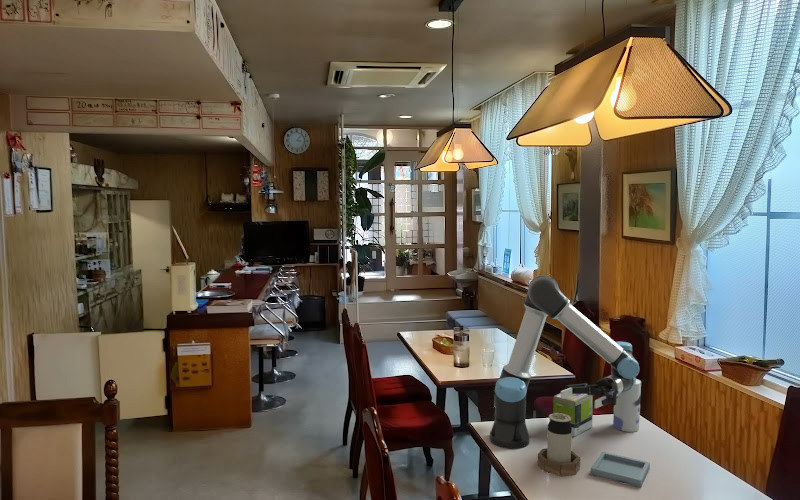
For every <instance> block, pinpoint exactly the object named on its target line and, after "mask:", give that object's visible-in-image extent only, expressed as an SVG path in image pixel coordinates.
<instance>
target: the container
mask: <svg viewBox="0 0 800 500" xmlns="http://www.w3.org/2000/svg"><path fill="white" fill-rule="evenodd" d="M641 387H642V381H641V380H640V379H637V378H636V384H635V386H634V387H633V388H631V389H630V390H628V391H625V392H623V393H620V394H619V395H618V398H617V400H616V405H613V419H612V421H613V423H612V426H613V427H614V428H615V429H617V430H619V431H623V432H630V433H632V432H633V433H634V432H637V431H639V430H640V414H641V413H640V412H641V389H642V388H641Z"/></svg>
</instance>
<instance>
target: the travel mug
mask: <svg viewBox="0 0 800 500" xmlns="http://www.w3.org/2000/svg"><path fill="white" fill-rule="evenodd" d="M548 418H549V422H548V424H547V441H546V443H547V444H546V445H547V446H546V448H547V460H550V461H554V462H558V463H568V462H571V451H572V436H571V433H572V427H571V425H570V420H571V417H570V416H569V415H566V414H562V413H551V414H549V415H548Z"/></svg>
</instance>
